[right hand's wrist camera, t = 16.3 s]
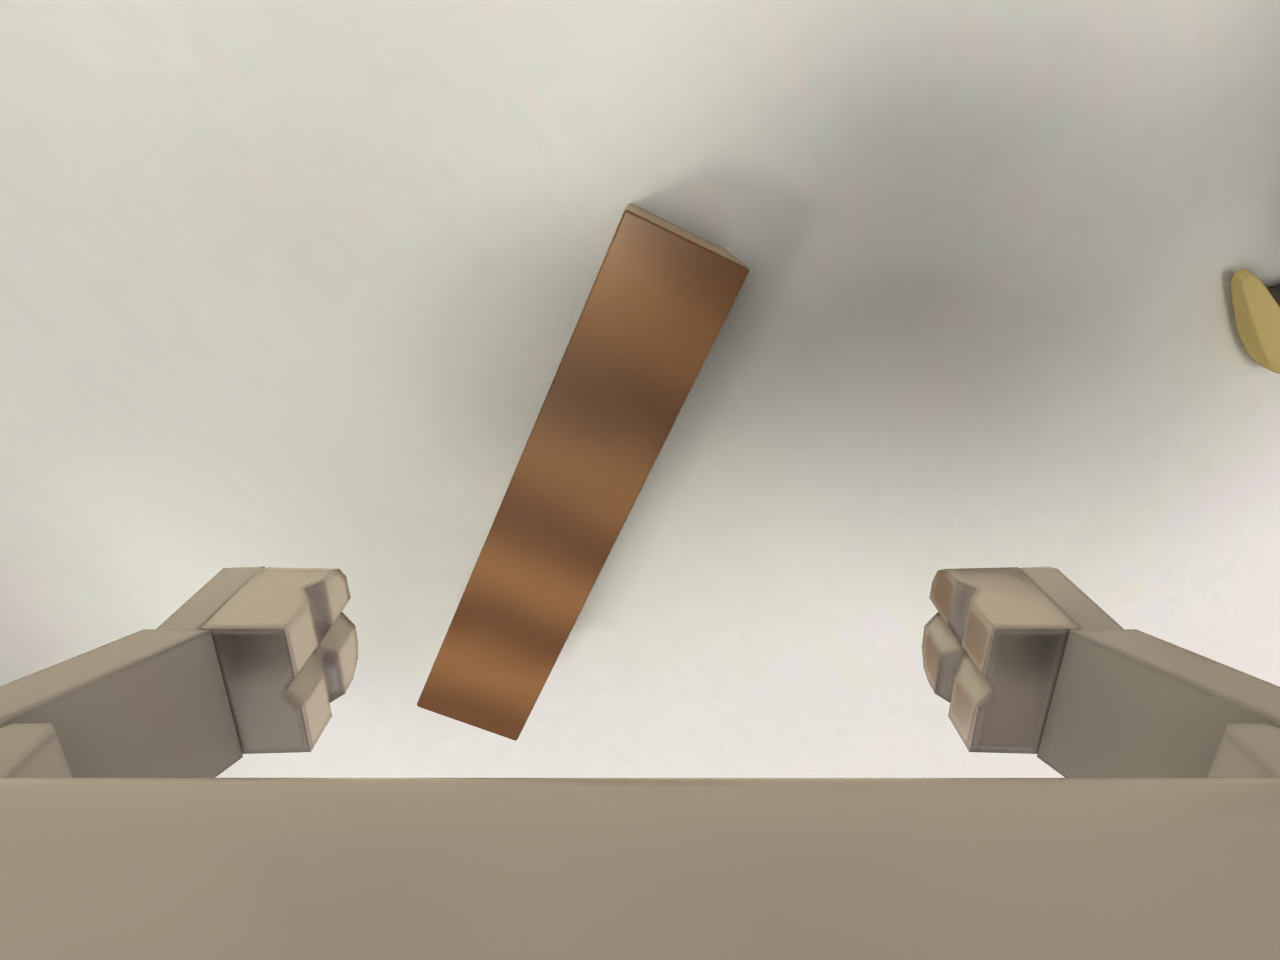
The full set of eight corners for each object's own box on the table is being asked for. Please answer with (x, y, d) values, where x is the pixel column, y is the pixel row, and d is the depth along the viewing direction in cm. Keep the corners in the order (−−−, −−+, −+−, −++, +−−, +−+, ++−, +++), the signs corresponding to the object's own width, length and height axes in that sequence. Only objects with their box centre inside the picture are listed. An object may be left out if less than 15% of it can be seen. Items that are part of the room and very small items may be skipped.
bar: (628, 202, 32) (625, 208, 25) (725, 249, 33) (750, 269, 25) (457, 609, 40) (415, 706, 33) (539, 640, 41) (516, 741, 33)
